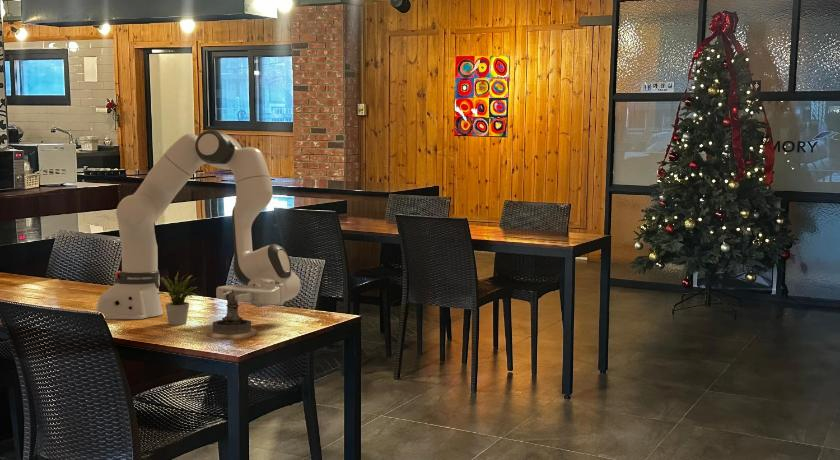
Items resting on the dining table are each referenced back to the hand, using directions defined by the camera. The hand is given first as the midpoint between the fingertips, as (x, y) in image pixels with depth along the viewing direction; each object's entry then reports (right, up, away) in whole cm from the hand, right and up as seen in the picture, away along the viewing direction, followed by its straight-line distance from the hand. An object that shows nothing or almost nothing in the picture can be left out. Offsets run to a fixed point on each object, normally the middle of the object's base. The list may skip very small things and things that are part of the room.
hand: (230, 297), depth 268 cm
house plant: (-21, -10, +16) cm, 28 cm away
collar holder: (0, -11, +2) cm, 11 cm away
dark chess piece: (0, -10, +2) cm, 10 cm away
